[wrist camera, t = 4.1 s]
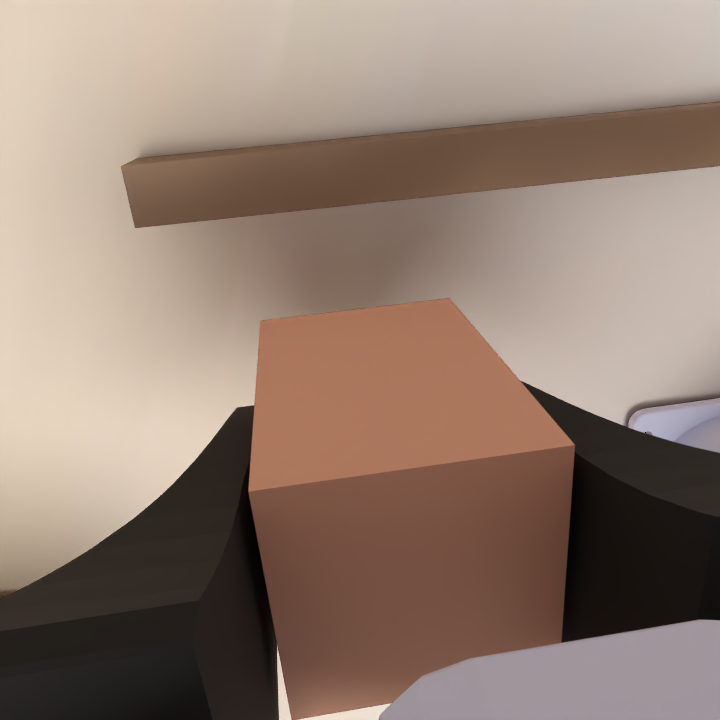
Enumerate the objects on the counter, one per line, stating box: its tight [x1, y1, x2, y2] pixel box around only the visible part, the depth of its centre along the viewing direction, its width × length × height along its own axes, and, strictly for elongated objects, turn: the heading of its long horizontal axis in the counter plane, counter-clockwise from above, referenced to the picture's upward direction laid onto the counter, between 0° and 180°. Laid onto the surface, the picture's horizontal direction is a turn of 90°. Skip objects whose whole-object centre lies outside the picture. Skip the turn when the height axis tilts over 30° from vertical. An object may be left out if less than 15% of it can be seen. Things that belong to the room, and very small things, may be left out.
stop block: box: [248, 298, 575, 720], centre depth 11 cm, size 4×4×6 cm
